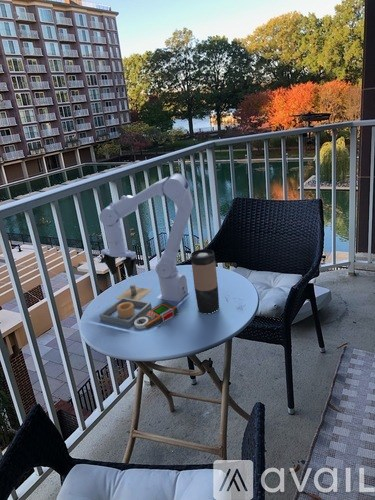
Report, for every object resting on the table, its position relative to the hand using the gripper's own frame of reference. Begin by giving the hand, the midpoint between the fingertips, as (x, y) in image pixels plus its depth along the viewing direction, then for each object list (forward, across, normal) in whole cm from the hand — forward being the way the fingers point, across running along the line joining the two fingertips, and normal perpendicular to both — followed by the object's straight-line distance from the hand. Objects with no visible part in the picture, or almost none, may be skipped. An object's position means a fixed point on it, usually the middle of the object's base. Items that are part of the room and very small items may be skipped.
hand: (122, 274), depth 134 cm
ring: (+9, -8, +10) cm, 16 cm away
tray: (+9, -8, +10) cm, 16 cm away
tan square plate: (+9, -2, -2) cm, 10 cm away
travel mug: (+10, -33, -2) cm, 34 cm away
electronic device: (+10, -19, +10) cm, 24 cm away
